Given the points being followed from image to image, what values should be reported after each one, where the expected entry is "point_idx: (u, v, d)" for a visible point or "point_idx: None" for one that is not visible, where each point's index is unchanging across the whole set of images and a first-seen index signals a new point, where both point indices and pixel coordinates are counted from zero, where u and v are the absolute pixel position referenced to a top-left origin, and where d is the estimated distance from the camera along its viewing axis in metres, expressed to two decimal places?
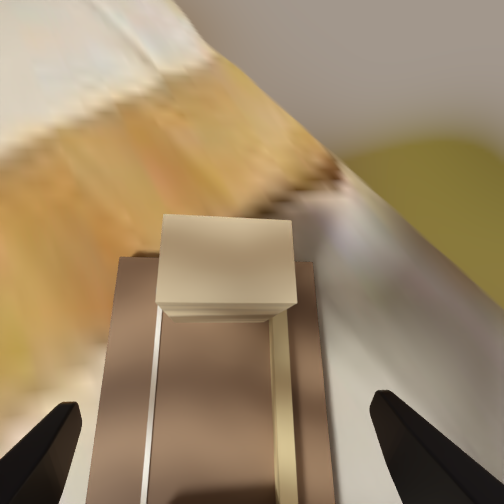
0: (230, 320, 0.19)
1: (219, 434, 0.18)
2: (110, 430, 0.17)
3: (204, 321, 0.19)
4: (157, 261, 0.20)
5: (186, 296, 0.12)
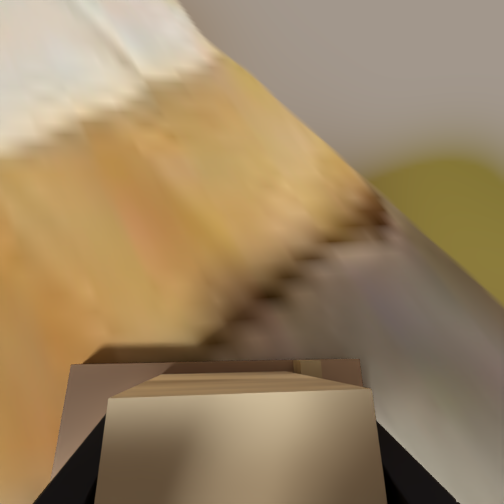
0: None
1: None
2: None
3: None
4: (129, 370, 0.13)
5: None
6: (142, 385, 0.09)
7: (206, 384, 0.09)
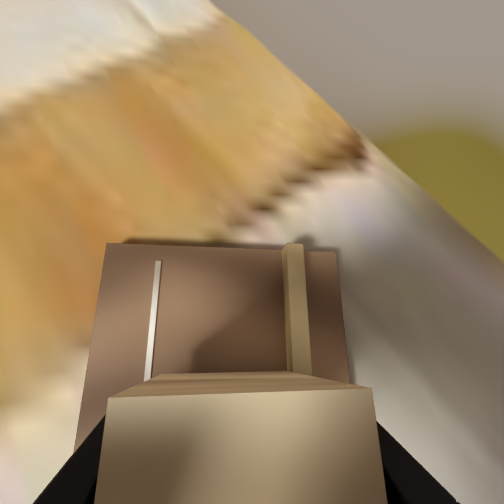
0: None
1: None
2: None
3: None
4: (152, 249, 0.17)
5: None
6: (142, 385, 0.09)
7: (206, 384, 0.09)
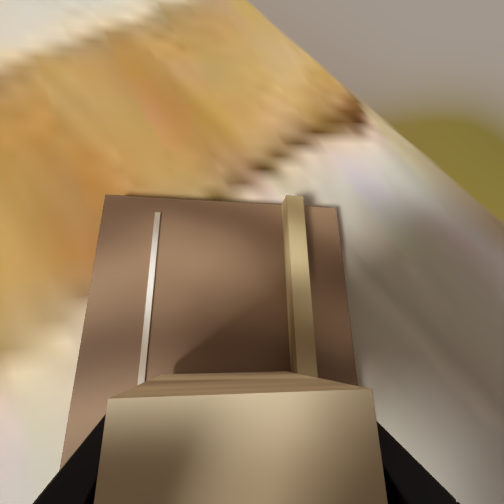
0: None
1: None
2: (90, 398, 0.13)
3: None
4: (151, 201, 0.17)
5: None
6: (142, 385, 0.09)
7: (206, 384, 0.09)
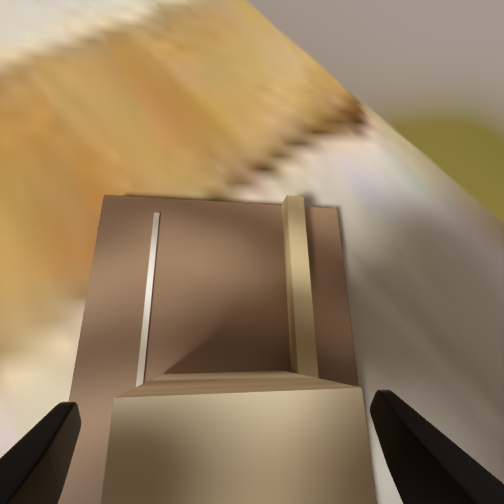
0: None
1: None
2: (87, 401, 0.13)
3: None
4: (150, 201, 0.17)
5: None
6: (144, 385, 0.09)
7: (206, 384, 0.09)
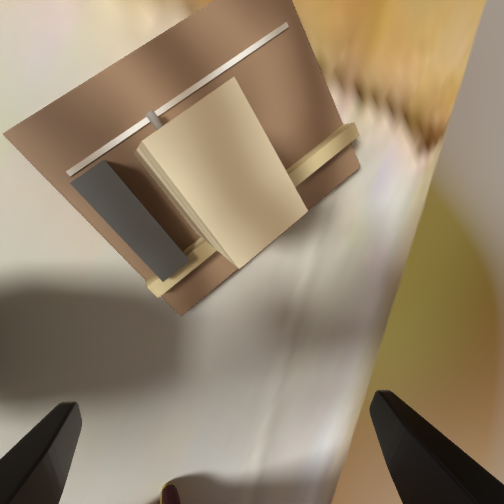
0: (177, 206, 0.17)
1: None
2: (137, 70, 0.16)
3: (157, 182, 0.17)
4: (292, 11, 0.18)
5: (170, 168, 0.10)
6: None
7: None
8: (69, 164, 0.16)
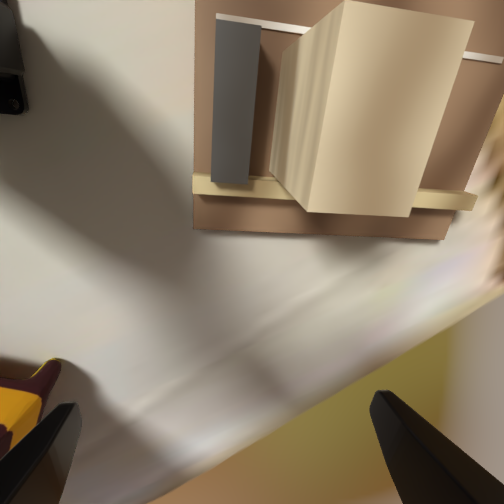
0: (278, 129, 0.15)
1: None
2: None
3: (280, 94, 0.15)
4: None
5: (342, 54, 0.08)
6: None
7: None
8: (224, 9, 0.14)
